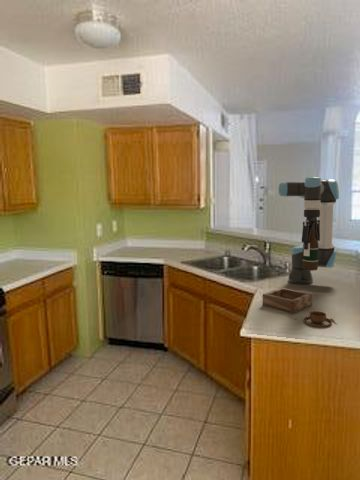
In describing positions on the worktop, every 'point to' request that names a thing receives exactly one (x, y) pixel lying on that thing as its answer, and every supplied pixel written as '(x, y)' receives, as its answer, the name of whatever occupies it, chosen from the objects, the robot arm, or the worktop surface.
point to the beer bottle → (311, 253)
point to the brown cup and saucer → (315, 318)
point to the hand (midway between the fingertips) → (310, 254)
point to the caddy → (287, 299)
